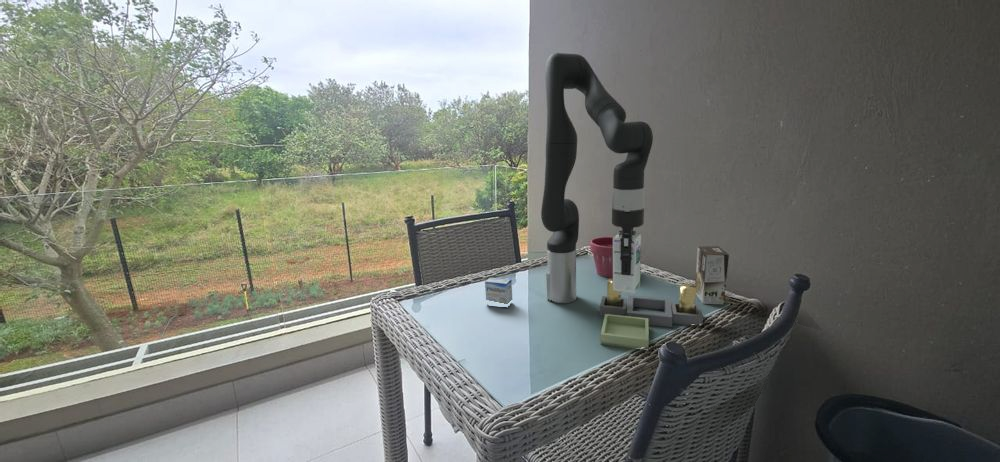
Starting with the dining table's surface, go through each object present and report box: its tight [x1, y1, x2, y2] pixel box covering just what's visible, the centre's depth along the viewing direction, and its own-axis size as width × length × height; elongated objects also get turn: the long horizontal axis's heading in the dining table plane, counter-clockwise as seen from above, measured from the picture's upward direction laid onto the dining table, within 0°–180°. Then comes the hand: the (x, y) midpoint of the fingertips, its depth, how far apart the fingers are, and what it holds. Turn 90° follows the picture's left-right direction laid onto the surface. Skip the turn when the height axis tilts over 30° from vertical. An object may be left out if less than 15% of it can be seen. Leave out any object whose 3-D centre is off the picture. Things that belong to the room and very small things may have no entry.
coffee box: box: [694, 245, 730, 305], centre depth 119 cm, size 9×6×16 cm
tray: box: [600, 314, 650, 350], centre depth 102 cm, size 12×12×3 cm
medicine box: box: [484, 277, 513, 304], centre depth 125 cm, size 8×4×9 cm, turn 68°
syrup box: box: [612, 232, 642, 295], centre depth 97 cm, size 6×6×14 cm
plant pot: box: [589, 236, 615, 278], centre depth 145 cm, size 14×14×13 cm
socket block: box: [599, 294, 704, 328], centre depth 113 cm, size 28×12×3 cm, turn 69°
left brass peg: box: [606, 277, 622, 307], centre depth 115 cm, size 4×4×10 cm
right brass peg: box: [678, 283, 697, 314], centre depth 108 cm, size 4×4×10 cm
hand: (626, 269), depth 98 cm, fingers closed on syrup box, 6 cm apart
